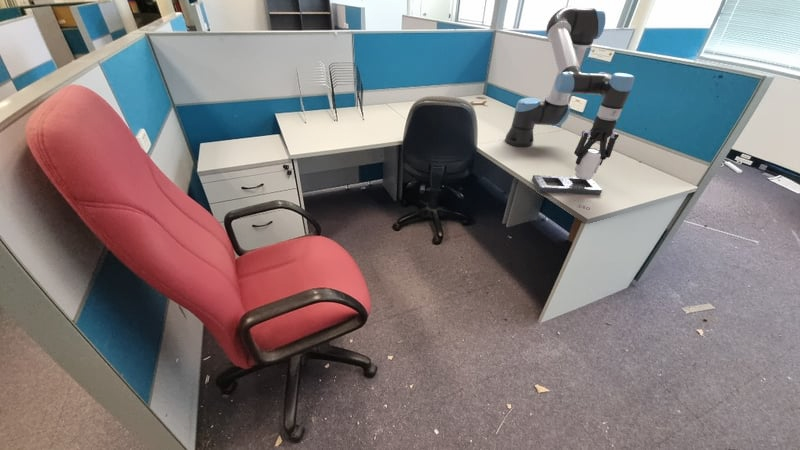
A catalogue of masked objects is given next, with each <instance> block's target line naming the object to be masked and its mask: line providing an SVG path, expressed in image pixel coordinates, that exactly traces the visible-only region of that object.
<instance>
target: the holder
mask: <svg viewBox="0 0 800 450" xmlns="http://www.w3.org/2000/svg"><path fill="white" fill-rule="evenodd" d="M531 182H532V183H533V184H534V186H535V188H536V189H537V191H538V192H539V193H543V194H544V193H545V194H547V193H549V194H568V195H569V194H570V195H590V196H591V195H593V196H601V193H602V191H603V189H602V188H601V186H600V185H599V184H598V183H597V182H596V181H595V180H594V179H593V178H591V179H589V180H583V179H580V178H578V177H576V176H565V175H564V176H562V175H561V176H560V175H542V174H541V175H539V174H538V175H537V174H534V175H532V177H531ZM547 183H552V184H557V185H547ZM576 184H577V185H584V186H575V185H576Z"/></svg>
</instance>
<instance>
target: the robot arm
mask: <svg viewBox="0 0 800 450" xmlns="http://www.w3.org/2000/svg"><path fill="white" fill-rule="evenodd" d="M606 21H607V20H606V12H605V11H604V9H602V8H600V7H599V8H598V7H593V6H592V7H590V6H586V7H585V6H584V7H583V6H565V7H563V8H561V9H559V10H557V11H556V12H555V13H553V15H552V16H551V17H550V18H549V20H548V21H547V22H548V23H547V25H546V28H545V29H546V30H545V32H546V34H545V35H546V37H547V40H548V42H549V43H550V44H551V48H552V51H553V55H554V59H555V62H556V66H557V73H556V76H555V78H554V81H553V84H552V88H551V90H550V92H549V95H547V96H546V97H545V98H544V101H542V100H541V99H540V98H539V97H525V98H521V99H519V100H518V101H517V103H516V106H515V109H514V114H513V119H512V123H511V125H510V126H511V127H510V129H509V130H508V132H507V133H506V135H505V139H504V141H505V142H506V143H507V144H509V145H511V146H513V147H520V148H529V147H531V146H533V144H534V140H535V139H534V128H535V126H536V125H539V126H540V125H541V126H553V127H554V126H561V125H564V123H565V122H566V121H567V120H568V117H569V115H570V111H571V105H570V103H569V102H570V101H569V99H568V97H569V94H572V95H573V94H576V95H597V96H601V97H603V98H602V100H601V103H600V106H599V108H598V111H597V112H596V117H595V119H594V120H593V124H592V127H591V129H590V130H587V131H586V130H583V131H582V132H581V137H580V139H579V142H578V144H577V146H576V147H575V151H574V155H575V156H576V157H577V158H576V160H575V168H574V172H575V173H576V172H577V173H579V171H580V169H581V166H582V164H583V161H584V159H585V158H583V157H584V155H585V154H586V153H587V151H588V150H589V149H590V148H592V146H593V145H594V144H596V142H599V150H600V151H601V157H600V159H599V162H598V164H597V166H596V169H595V171H594V173H593V174H596V173H597V171H598V169H599V168H600V167H599V166H602V164H603V161H605V160H606V159H608V158H610V157H611V155H612V153H613V149H614V146H615V144H616V140H617V139H618V138H619V136H620V134H618V133H617V132H615V131H613V130H614V129H615V127H616V125H617V123H618V119H619V118H620V116H621V113H622V110H623V108H624V106H625V104H626V101H628V100H627V99H628V97H629V95H630V92H631V90H632V89H633V85H634V82H635V79H636V78H635V76H634V75H632V74H629V73H626V72H625V73H624V72H615V73H613V74H612V73H609V72H604V71H600V72H597V73H593V72H592V73H591V72H589V73H588V72H582V71H581V64H582V61H583V59H584V55H585V53H586V51H587V48H588V47H591V46H592V45H593V42H594V41H595V40H597V39H599V38H600V37H601V36H602V34H603V32H604V30H605V27H606V26H605V25H606Z"/></svg>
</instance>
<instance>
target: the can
mask: <svg viewBox="0 0 800 450" xmlns="http://www.w3.org/2000/svg"><path fill="white" fill-rule="evenodd" d="M600 157H601V151H600V149H599V148H595V147H590V149H589V150H588V151H587V153H586V154H585V155H584V157H583V158H585V159H584V161H583V164H582V166H581V169H580V171H579V173H577V172H576V171H575V177H578V178H580V179H583V180H589V179H591V178H592V177H593V176H594V174H595V173H594V171H595V169H596V166H597V164H598V162H599V159H600ZM592 179H593V178H592Z"/></svg>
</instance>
